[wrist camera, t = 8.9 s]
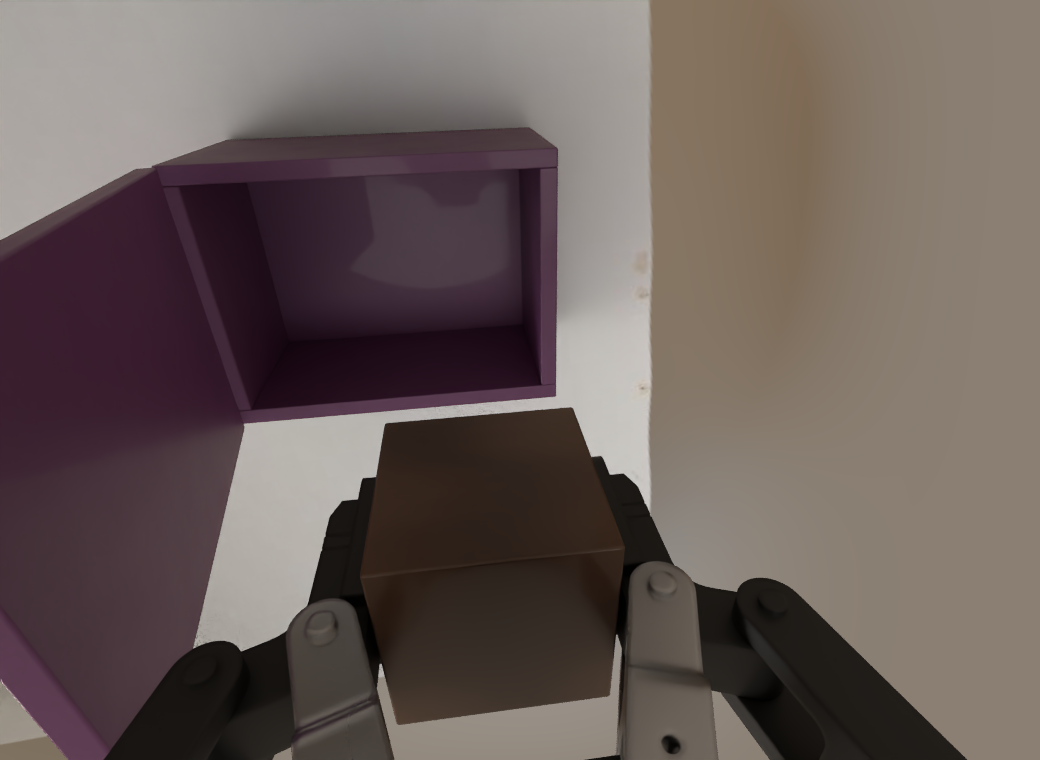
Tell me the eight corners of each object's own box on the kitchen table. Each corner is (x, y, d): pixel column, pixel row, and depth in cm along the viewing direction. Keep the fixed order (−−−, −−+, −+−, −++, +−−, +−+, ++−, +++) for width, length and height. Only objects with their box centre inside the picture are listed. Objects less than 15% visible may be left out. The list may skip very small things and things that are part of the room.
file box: (530, 127, 31) (558, 147, 23) (533, 329, 37) (555, 396, 30) (225, 139, 30) (150, 166, 22) (282, 348, 36) (239, 424, 28)
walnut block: (408, 556, 15) (396, 726, 11) (384, 422, 13) (358, 576, 9) (568, 539, 16) (610, 697, 12) (572, 405, 14) (626, 547, 10)
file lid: (-188, 367, 7) (-793, 445, 6) (156, 811, 14) (-101, 895, 12) (156, 167, 22) (1, 177, 20) (245, 427, 28) (130, 448, 27)
